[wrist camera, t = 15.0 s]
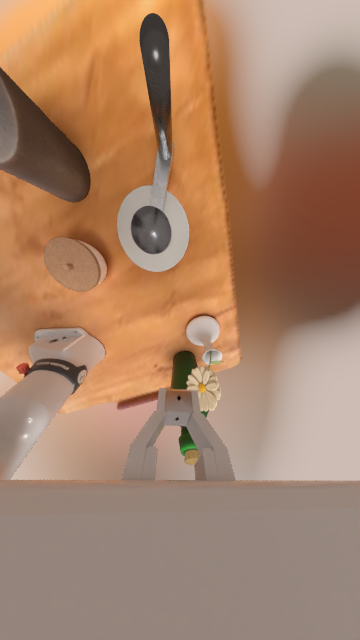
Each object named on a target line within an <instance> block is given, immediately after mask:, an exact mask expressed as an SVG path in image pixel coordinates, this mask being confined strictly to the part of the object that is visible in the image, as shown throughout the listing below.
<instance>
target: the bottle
mask: <svg viewBox="0 0 360 640" xmlns="http://www.w3.org/2000/svg"><path fill="white" fill-rule="evenodd" d="M196 367H197V363H196V359H195V356H194V355H193V354H192V353H191V352H186V351H184V352H179V353H178V354H177V355H175V357H174V360H173V370H172V380H171V389H184V390H187V387H188V385H187V381H188V380H189V379H188V375H191V372H192V369H195V368H196ZM208 411H209V410H208ZM208 411H207V412H206V411H204V410H203V411H201V414H204V416H205V417H207V414H208ZM181 428H182V429H181V436H180V437H179V444H180V450H181V454H182V455H183V456H185V463H186V464H190V465H193V464H195V463H196V462H197V460H198V458H199V456H200V454H199V451H198V449H197V447H196V445H195V443H194V441H193V439H192V437H191V435H190V433H189V431H188V429H187V426H181Z"/></svg>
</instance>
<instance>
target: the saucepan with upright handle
mask: <svg viewBox="0 0 360 640" xmlns="http://www.w3.org/2000/svg"><path fill="white" fill-rule="evenodd" d="M140 47H141V53H142V59H143V64H144V70H145V76H146V82H147V88H148V94H149V99H150V105H151V111H152V117H153V123H154V129H155V134H156V140H157V146H158V151H157V158H156V165H155V172H154V179H153V186H152V193H151V201H150V206H144V207H141V208H140V209H138V210H137V211H136V213H135V214H134V216H133V218H132V221H131V234H132V237H133V240H134V242H135V243H136V245H137V246H138V247H139V248H140V249H141V250H142V251H144V252H146V253H149V254H159V253H162V252H164V251H165V250H166V249H167V248H168V246H169V244H170V242H171V237H172V232H171V226H170V223H169V220H168V218H167V217H166V215H165V214H164V213H163V210H164V205H165V199H166V194H167V188H168V183H169V177H170V172H171V166H172V161H173V155H174V144H173V143H172V119H171V89H170V59H169V37H168V32H167V28H166V26H165V23H164V22H163V20H162V19H161V17H160V16H158V15H157V14H154V13H151V14H149V15H147V16H146V17H145V18H144V20H143V22H142V25H141V29H140Z"/></svg>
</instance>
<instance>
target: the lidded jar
mask: <svg viewBox="0 0 360 640" xmlns="http://www.w3.org/2000/svg"><path fill="white" fill-rule="evenodd" d="M44 261H45V264H46V267H47V269H48V271H49V272H50V274H51V275H52V276H53V277H54V279H55V280H56V281H58V282H59V283H60V284H61V285H63V286H64V287H66V288H68V289H71V290H74V291H80V292H82V291H88V290H90V289H92V288H94V287H96V286H98V285H99V284H100V283H102V281H103V280H104V279H105V277H106V274H107V266H106V262H105V260H104V258H103V256H102V255H101V254H100V252H99V251H97V250H96V249H95V248H94V247H93V246H91V245H89V244H87V243H85V242H82V241H80V240H75V239H72V238H68V237H56V238H53V239H52V240H50V241H49V242H48V243H47V245H46V246H45V249H44Z"/></svg>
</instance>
